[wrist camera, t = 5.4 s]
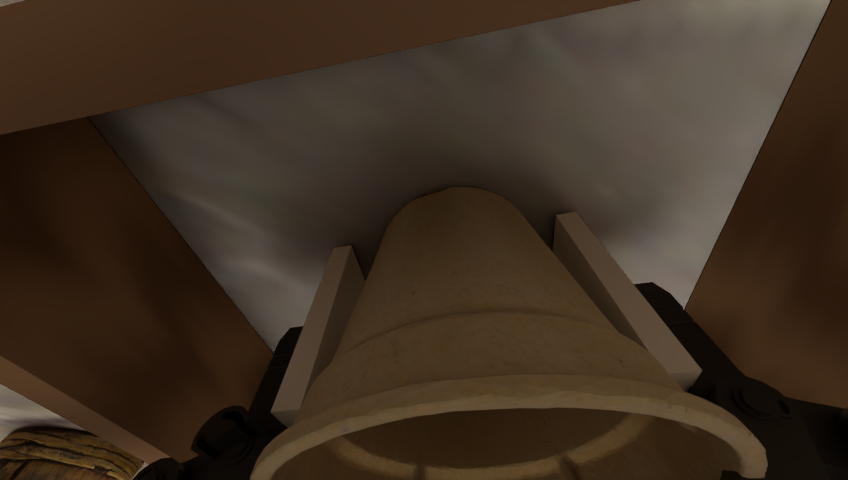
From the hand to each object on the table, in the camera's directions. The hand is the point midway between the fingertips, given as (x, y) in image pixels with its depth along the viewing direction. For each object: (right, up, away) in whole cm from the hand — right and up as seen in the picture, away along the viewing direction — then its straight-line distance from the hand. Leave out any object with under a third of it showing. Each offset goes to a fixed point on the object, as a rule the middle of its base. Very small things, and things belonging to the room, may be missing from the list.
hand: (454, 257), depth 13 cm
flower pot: (0, 0, 0) cm, 1 cm away
